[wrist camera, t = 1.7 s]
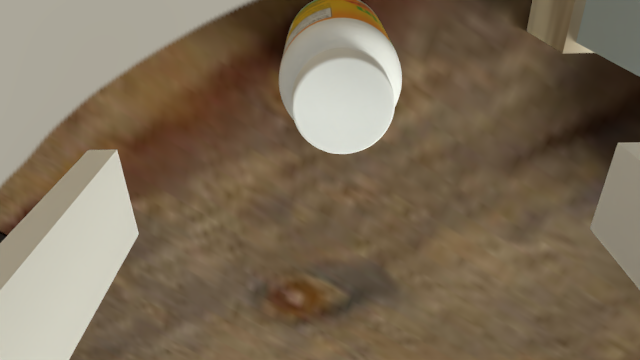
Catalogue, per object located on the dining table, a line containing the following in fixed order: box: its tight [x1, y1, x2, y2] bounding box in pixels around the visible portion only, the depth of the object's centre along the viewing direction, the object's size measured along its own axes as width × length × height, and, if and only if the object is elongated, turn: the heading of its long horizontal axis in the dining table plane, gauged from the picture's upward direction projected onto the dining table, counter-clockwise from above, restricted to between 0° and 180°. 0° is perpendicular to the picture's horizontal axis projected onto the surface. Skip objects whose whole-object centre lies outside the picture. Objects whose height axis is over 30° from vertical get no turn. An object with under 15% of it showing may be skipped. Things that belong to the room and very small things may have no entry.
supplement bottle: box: [279, 0, 402, 154], centre depth 23 cm, size 5×5×10 cm
